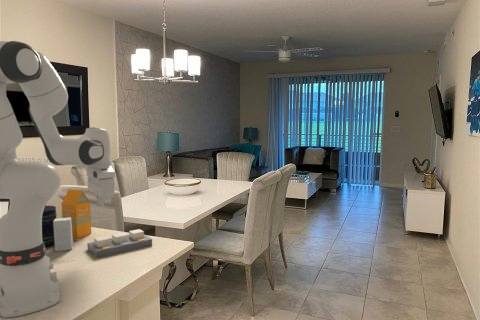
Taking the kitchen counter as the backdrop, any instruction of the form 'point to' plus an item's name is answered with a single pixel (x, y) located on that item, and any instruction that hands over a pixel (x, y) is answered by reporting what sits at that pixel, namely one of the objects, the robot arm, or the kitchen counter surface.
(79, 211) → the orange juice
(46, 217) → the dark blue cylinder
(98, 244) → the near button
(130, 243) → the button panel
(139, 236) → the far button
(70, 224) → the skincare box
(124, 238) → the middle button
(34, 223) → the robot arm
